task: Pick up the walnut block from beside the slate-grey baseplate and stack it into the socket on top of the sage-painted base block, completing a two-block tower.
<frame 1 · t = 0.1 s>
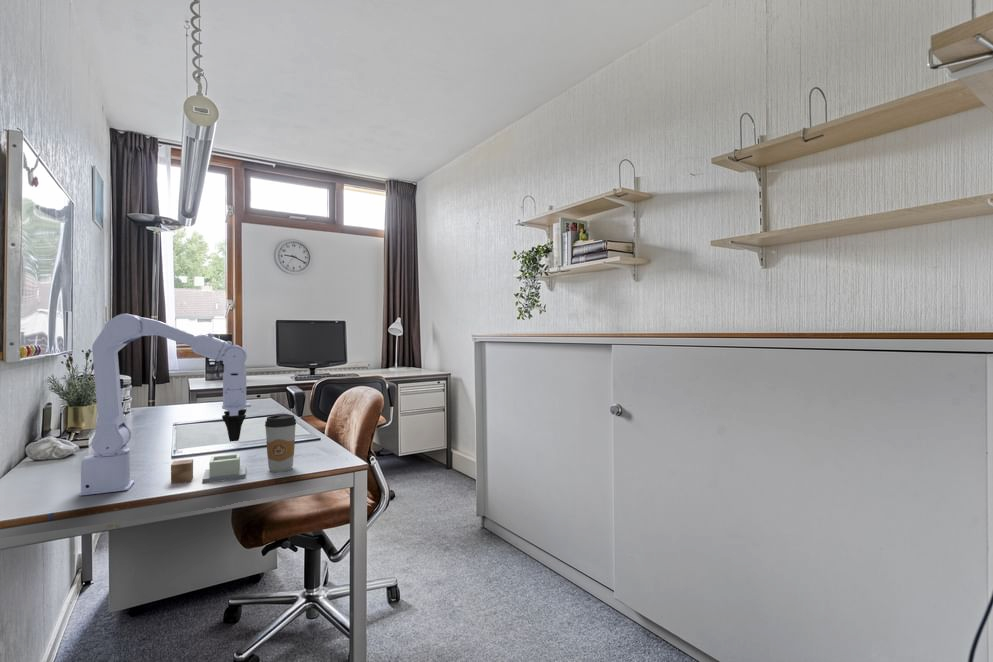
hand: (234, 438, 137), 10 cm above the table, tool pointing down, fingers open, 7 cm apart
socket base: (225, 475, 136), on the table
walnut block: (182, 480, 131), on the table
coffee cup: (280, 469, 142), on the table
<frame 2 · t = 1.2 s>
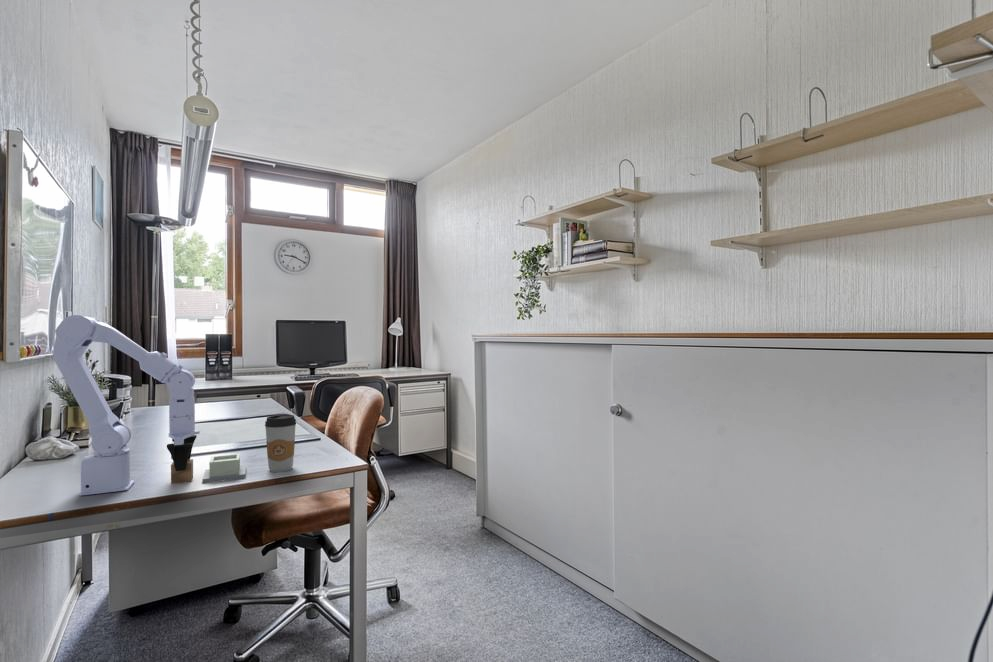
hand: (182, 466, 131), 4 cm above the table, tool pointing down, fingers open, 7 cm apart
nothing on the table moved.
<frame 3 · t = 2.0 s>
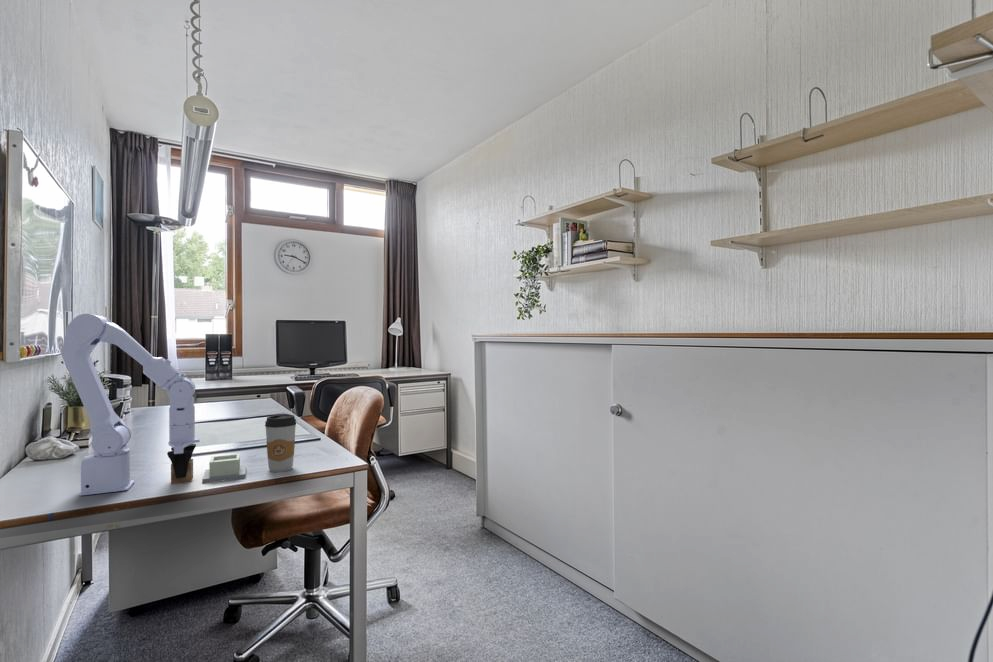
hand: (182, 475, 131), 1 cm above the table, tool pointing down, fingers closed on walnut block, 4 cm apart
walnut block: (182, 480, 131), on the table, touching gripper
everything else where it was.
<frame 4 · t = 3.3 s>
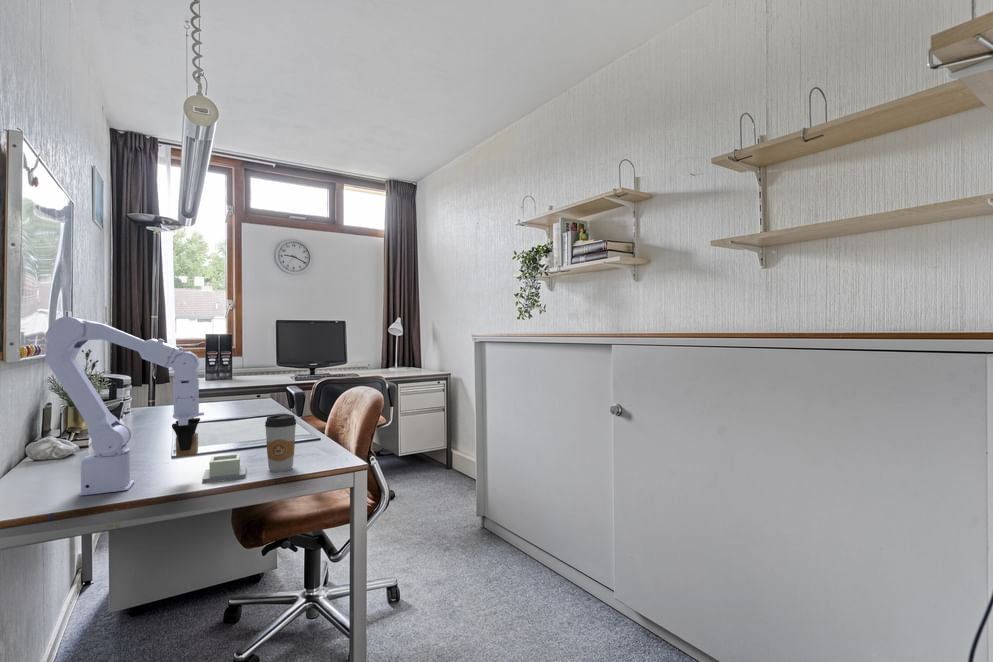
hand: (186, 448, 132), 8 cm above the table, tool pointing down, fingers closed on walnut block, 4 cm apart
walnut block: (187, 454, 132), point 7 cm above the table, touching gripper
everything else where it was.
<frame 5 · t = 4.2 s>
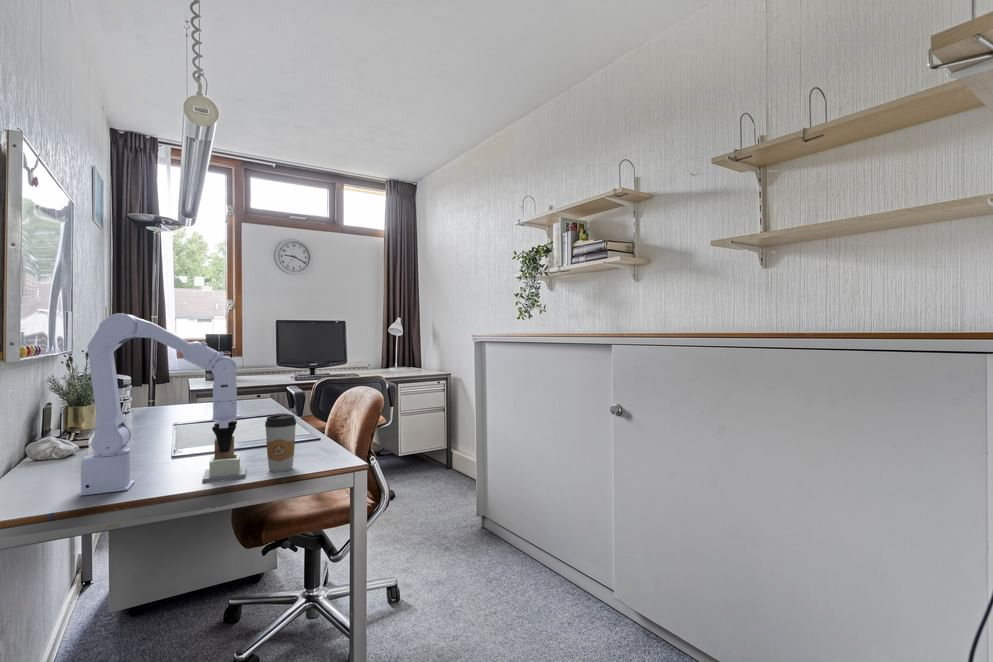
hand: (225, 450, 136), 7 cm above the table, tool pointing down, fingers closed on walnut block, 4 cm apart
walnut block: (224, 456, 136), point 5 cm above the table, touching gripper
everything else where it was.
when the fingers open (7 cm above the table, at t = 4.6 s): walnut block drops 1 cm, resting on socket base.
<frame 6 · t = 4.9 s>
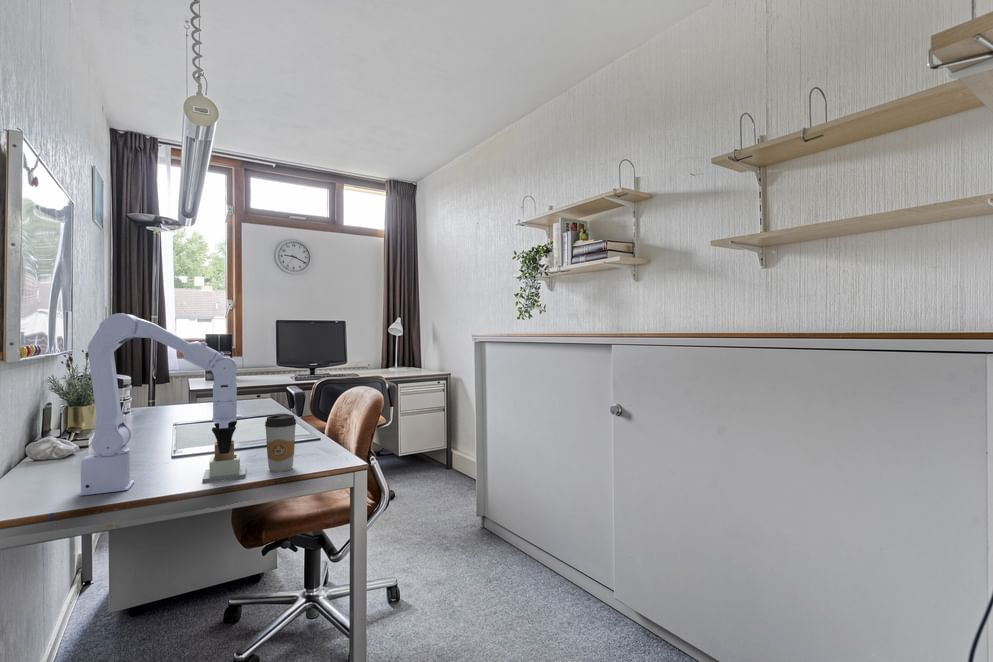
hand: (225, 450, 136), 7 cm above the table, tool pointing down, fingers open, 7 cm apart
walnut block: (224, 460, 136), point 4 cm above the table, touching socket base
everything else where it was.
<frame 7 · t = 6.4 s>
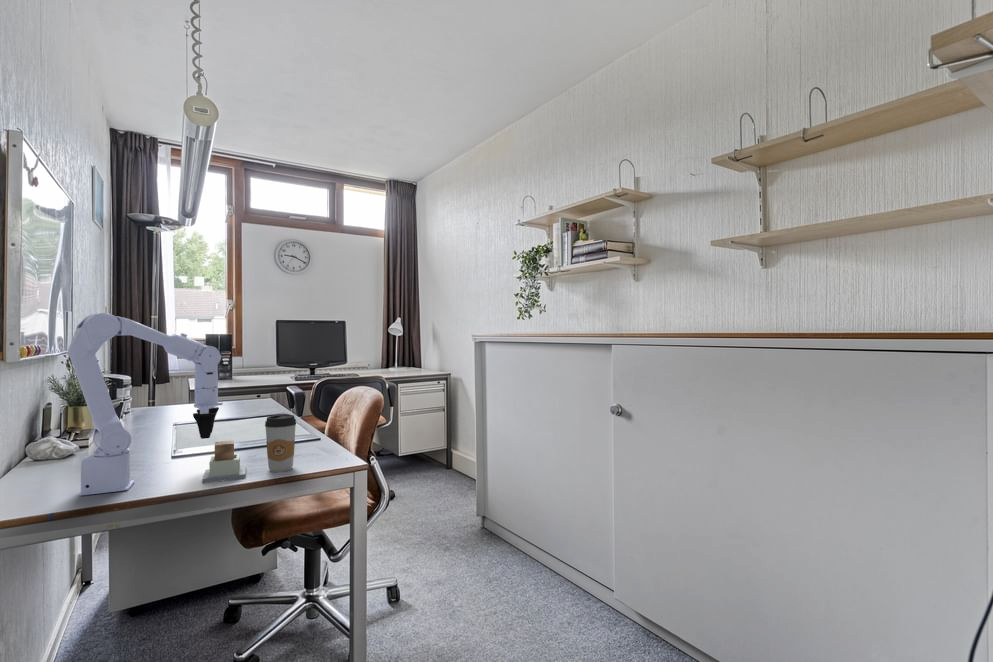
hand: (206, 435, 141), 10 cm above the table, tool pointing down, fingers open, 7 cm apart
nothing on the table moved.
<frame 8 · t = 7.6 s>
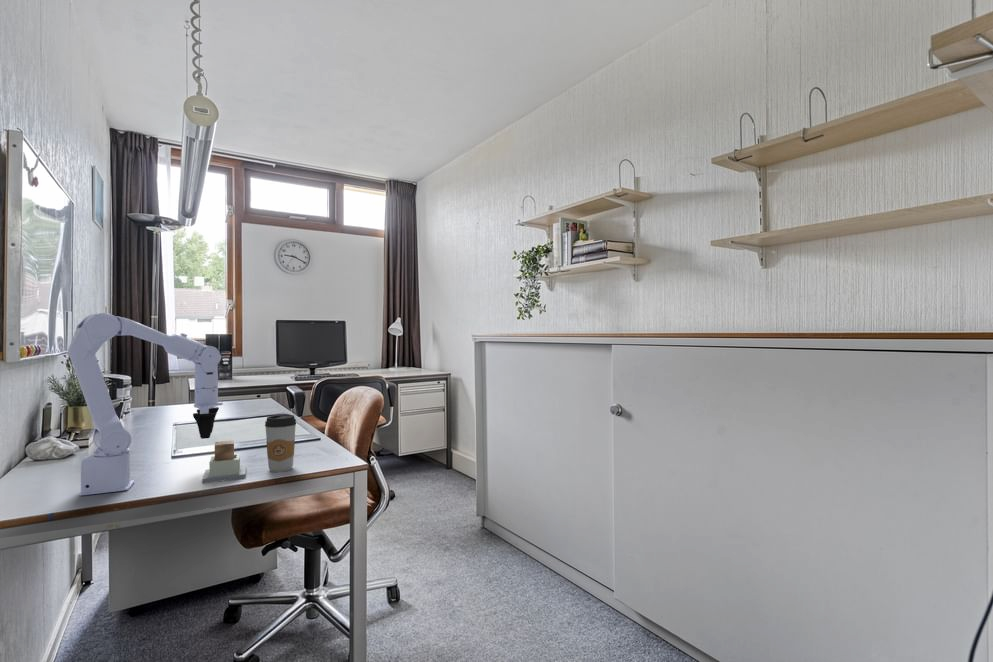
hand: (206, 435, 141), 10 cm above the table, tool pointing down, fingers open, 7 cm apart
nothing on the table moved.
at the end: walnut block 0.1 cm off-centre on the socket base, point 4.0 cm above the socket base's base; walnut block tilted 0°; the gripper is holding nothing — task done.
